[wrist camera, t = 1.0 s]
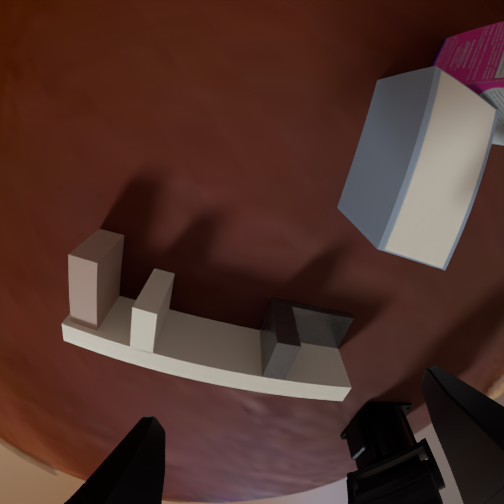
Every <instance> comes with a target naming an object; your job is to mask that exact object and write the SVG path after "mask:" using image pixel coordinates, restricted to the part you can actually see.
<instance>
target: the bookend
mask: <svg viewBox="0 0 504 504" xmlns="http://www.w3.org/2000/svg"><path fill="white" fill-rule="evenodd" d="M352 321H353V317H352V315H351V314H346V313H341V312H336V311H331V310H326V309H321V308H316V307H311V306H307V305H302V304H297V303H293V302H288V301H283V300H279V299H274V298H271V300H270V303H269V306H268V309H267V311H266V314H265V317H264V320H263V322H262V325H261V328H260V345H261V362H262V377H266V378H272V379H278V380H285V379H286V377H287V375H288V373H289V371H290V369H291V367H292V365H293V363H294V361H295V359H296V357H297V355H298V353H299V351H300V349H301V343H306V344H312V345H318V346H324V347H331V348H337V349H338V347H339V346H340V344H341V342H342V340H343V338H344V336H345V334H346V332H347V331H348V329H349V327H350V325H351V323H352Z"/></svg>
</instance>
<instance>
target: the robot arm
mask: <svg viewBox="0 0 504 504" xmlns="http://www.w3.org/2000/svg"><path fill="white" fill-rule="evenodd" d="M421 389H422V392H423V395H424V399H425V402H426V405H427V408H428V411H429V414H430V418H431V421H432V424H433V427H434V429H435V432H436V434H437V436H438V439H439V441H440V443H441V446H442V448H443V451H444V453H445V455H446V458H447V460H448V463H449V465H450V468H451V470H452V473H453V476H454V478H455V481H456V483H457V486H458V489H459V492H460V494H461V497H462V500H463V503H464V504H504V407H503V406H502V405H500V404H498V403H497V402H495V401H494V400H492V399H491V398H489V397H487V396H486V395H484V394H482V393H481V392H479V391H478V390H476V389H474V388H473V387H471V386H470V385H468V384H466V383H465V382H463V381H462V380H460V379H458V378H457V377H455V376H454V375H452V374H450V373H449V372H447V371H446V370H444V369H442V368H441V367H439V366H437V365H435V366H432V367H429V368H427V369H426V370H425V372H424V376H423V380H422V384H421ZM411 408H412V404H411V403H373V402H370V403H367V404H365V405H364V406H363V408H362V409H361V410H360V411H359V413H358V414H357V415H356V416H355V418H354V419H353V420H352V421H351V423H350V424H349V425H348V426H347V428H346V429H345V430H344V431H343V432H342V434H341V435H340V436H341V439H347V443H348V447H349V450H350V454H351V458H352V460H355V461H356V465H357V469H358V470H357V471H354V472H349V473H347V491H348V504H443V502H442V499H441V496H440V493H439V490H441V489H443V488H445V484H444V481H443V478H442V475H441V472H440V470H439V468H438V465H437V463H436V460H435V458H434V456H433V454H432V452H431V449H430V447H429V445H428V443H427V441H426V438H424V439H422V440H421V441H420V442H418V443H417V442H416V440H415V437H414V435H413V432H412V430H411V428H410V425H409V423H408V421H407V418H406V416H405V415H406V414H407V413H408V412H409V411H410V409H411ZM426 458H427V459H428V460H424V459H426ZM164 477H165V431H164V428H163V427H162V426H161V424H160V423H159V421H158V420H157V418H156V417H154V416H144V417H142V418H141V419H140V420H139V422H138V423H137V424H136V425H135V426H134V427H133V429H132V430H131V431H130V432H129V433H128V434H127V435H126V437H125V438H124V439H123V440H122V441H121V442H120V443H119V445H118V446H117V447H116V448H115V449H114V450H113V451H112V453H111V454H110V455H109V456H108V457H107V458H106V459H105V460H104V462H103V463H102V464H101V465H100V466H99V467H98V468H97V469H96V471H95V472H94V473H93V474H92V475H91V476H90V477H89V478H88V480H87V481H86V482H85V483H84V484H83V485H82V486H81V487H80V488H79V489H78V490H77V491H76V493H75V494H74V495H73V496H72V497H71V498H70V499H69V500H67V502H65V503H64V504H161V503H162V502H161V501H162V494H163V485H164Z"/></svg>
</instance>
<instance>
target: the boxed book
mask: <svg viewBox="0 0 504 504" xmlns="http://www.w3.org/2000/svg"><path fill="white" fill-rule="evenodd" d="M498 114H499V111H498V110H497V109H496V108H494V107H493V106H492V105H491V104H489V103H488V102H487V101H486V100H484V99H483V98H482V97H480V96H479V95H478V94H476V93H475V92H474V91H472V90H471V89H470V88H468V87H467V86H465V85H464V84H463V83H461V82H460V81H458V80H457V79H455V78H454V77H452V76H451V75H449V74H448V73H446V72H445V71H443V70H442V69H440V68H438V67H437V66H432V67H428V68H423V69H419V70H415V71H410V72H406V73H402V74H398V75H395V76H391V77H387V78H383V79H380V80H377V83H376V87H375V90H374V94H373V97H372V101H371V104H370V108H369V111H368V115H367V118H366V121H365V125H364V128H363V131H362V134H361V138H360V141H359V144H358V147H357V150H356V153H355V157H354V160H353V163H352V166H351V169H350V172H349V175H348V178H347V181H346V184H345V187H344V189H343V192H342V195H341V198H340V201H339V204H338V207H337V208H338V209H339V210H340V211H341V212H342V213H343V214H344V215H345V216H346V217H347V218H348V219H349V220H350V221H351V222H352V223H353V224H354V225H355V226H356V227H357V228H358V229H359V230H360V232H361V233H362V234H363V235H364V236H365V237H366V238H367V239H368V240H369V241H370V242H371V243H372V244H373V245H374V246H375V247H376V248H377V249H379V250H382V251H385V252H388V253H392V254H395V255H398V256H401V257H405V258H408V259H411V260H414V261H417V262H420V263H423V264H427V265H430V266H433V267H436V268H439V269H442V270H446V268H447V265H448V263H449V261H450V259H451V257H452V255H453V252H454V250H455V248H456V245H457V243H458V241H459V238H460V236H461V234H462V231H463V229H464V226H465V224H466V221H467V219H468V216H469V213H470V211H471V208H472V205H473V203H474V200H475V197H476V194H477V191H478V188H479V185H480V182H481V179H482V176H483V172H484V169H485V166H486V162H487V159H488V155H489V152H490V148H491V144H492V140H493V136H494V132H495V128H496V123H497V118H498Z"/></svg>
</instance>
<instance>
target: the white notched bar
mask: <svg viewBox="0 0 504 504" xmlns="http://www.w3.org/2000/svg"><path fill="white" fill-rule="evenodd" d="M124 236H125V235H122V234H118V233H114V232H110V231H106V230H103V229H98V230H97V231H96V232H95V233H93V234H92V235H91V236H90V237H89V238H87V239H86V240H85V241H84V242H83V243H81V244H80V245H79V246H78V247H77V248H75V249H74V250H73V251H72V252H71V253H70V254H69V258H68V260H69V298H70V314H69V315H68V316H67V318H66V319H65V320H64V321H63V323H62V330H63V338H64V341H67V342H69V343H72V344H75V345H77V346H80V347H83V348H86V349H89V350H91V351H94V352H97V353H100V354H103V355H106V356H109V357H112V358H115V359H119V360H122V361H125V362H128V363H132V364H135V365H139V366H142V367H146V368H149V369H153V370H157V371H160V372H164V373H168V374H172V375H176V376H180V377H185V378H189V379H193V380H198V381H202V382H207V383H212V384H217V385H222V386H227V387H232V388H238V389H244V390H250V391H256V392H262V393H269V394H276V395H284V396H292V397H301V398H310V399H321V400H333V401H343V399H344V398H345V397H346V395H347V394H348V392H349V391H350V389H351V385H350V382H349V379H348V376H347V373H346V370H345V367H344V364H343V362H342V359H341V356H340V353H339V350H338V349H337V348H331V347H324V346H318V345H312V344H306V343H301V349H300V351H299V353H298V355H297V357H296V359H295V361H294V363H293V365H292V367H291V369H290V371H289V373H288V375H287V377H286V379H285V380H278V379H272V378H266V377H262V362H261V345H260V330H256V329H251V328H247V327H242V326H237V325H233V324H228V323H224V322H219V321H215V320H211V319H206V318H202V317H198V316H194V315H190V314H186V313H182V312H178V311H174V310H170V309H169V306H170V300H171V293H172V287H173V282H174V276H175V273H171V272H167V271H163V270H159V269H155V268H154V270H153V272H152V274H151V275H150V277H149V279H148V280H147V282H146V284H145V286H144V287H143V289H142V291H141V293H140V294H139V296H138V298H137V300H133V299H130V298H126V297H123V296H119V294H120V279H121V266H122V255H123V245H124Z"/></svg>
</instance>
